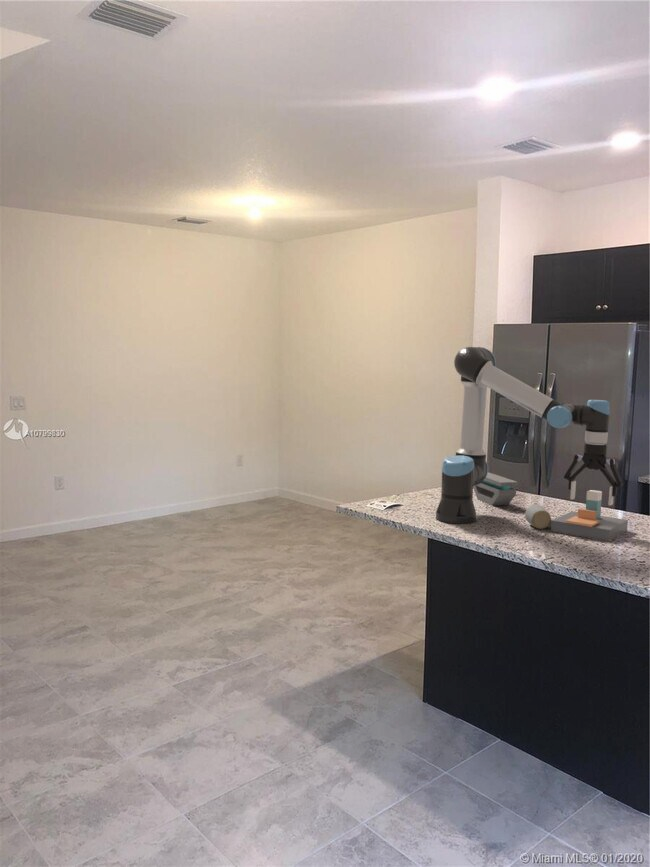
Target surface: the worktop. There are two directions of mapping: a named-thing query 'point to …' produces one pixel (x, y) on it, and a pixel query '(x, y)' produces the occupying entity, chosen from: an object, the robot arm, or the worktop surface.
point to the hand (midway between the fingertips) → (591, 501)
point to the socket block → (600, 531)
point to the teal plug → (594, 502)
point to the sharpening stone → (495, 490)
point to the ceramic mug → (538, 517)
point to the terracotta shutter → (585, 518)
